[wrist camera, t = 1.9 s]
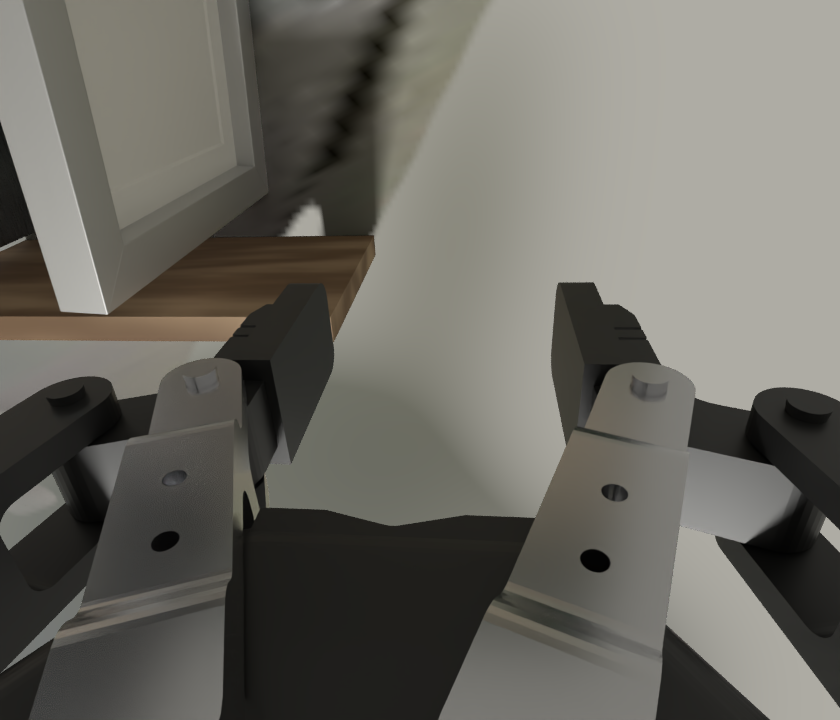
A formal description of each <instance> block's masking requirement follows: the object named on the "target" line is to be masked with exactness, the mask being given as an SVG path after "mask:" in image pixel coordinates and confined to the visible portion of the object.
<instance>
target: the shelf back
mask: <svg viewBox="0 0 840 720" xmlns="http://www.w3.org/2000/svg"><path fill="white" fill-rule="evenodd" d="M374 257H375V244H374V235H368V236H296V237H295V236H292V237H217V238H208V239H207V240H205V241H204V242H203V243H201V244H200V245H199V246H197V247H196V248H195V249H194V250H192V251H191V252H190V253H188V254H187V255H186V256H184V257H183V258H182V259H180V260H179V261H178V262H176V263H175V264H174V265H172V266H171V267H170V268H168V269H167V270H166V271H165V272H163V273H162V274H161V275H159V276H158V277H157V278H155V279H154V280H153V281H151V282H150V283H149V284H147V285H146V286H145V287H143V288H142V289H141V290H140V291H138V292H137V293H136V294H134V295H133V296H132V297H130V298H129V299H128V300H126V301H125V302H124V303H122V304H121V305H120V306H118V307H117V308H116V309H114V310H113V311H112V312H111V313H109V314H108V315H105V314H90V313H75V312H61V311H60V308H59V305H58V302H57V298H56V295H55V292H54V289H53V286H52V283H51V279H50V276H49V273H48V270H47V267H46V264H45V261H44V257H43V254H42V251H41V248H40V245H39V242H38V240H25V241H23V242H21V243H18V244H16V245H14V246H12V247H10V248H8V249H5V250H3V251H1V252H0V340H96V341H228V340H229V338H230V337H233V334H234V332H235V331H236V330H237V329H238V328H240V325H241V324H242V323H243V321H244V320H245V319H246V318H247V316H248V315H249V314H250V313H252V312H254V311H256V310H257V309H259V308H261V307H262V306H264V305H266V304H273V303H274V302H275V301H276V299H277V298H278V297H279V295H280V294H281V293H282V291H283V290H284V289H285V288H286V286H287V285H288V284H289V283H322V284H323V285H324V287H325V290H326V294H327V300H328V308H329V315H330V323H331V330H332V338H333V342H334V340H335V338H336V336H337V334H338V332H339V330H340V328H341V326H342V324H343V322H344V319H345V317H346V315H347V313H348V311H349V309H350V307H351V305H352V303H353V301H354V299H355V297H356V294H357V292H358V290H359V288H360V286H361V284H362V282H363V280H364V278H365V276H366V274H367V271H368V269H369V267H370V265H371V263H372V261H373V259H374Z"/></svg>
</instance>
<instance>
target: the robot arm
mask: <svg viewBox="0 0 840 720" xmlns="http://www.w3.org/2000/svg"><path fill="white" fill-rule="evenodd" d="M333 362H334V346H333V338H332V330H331V323H330V315H329V308H328V300H327V294H326V290H325V287H324V285H323V284H322V283H289V284H288V285H287V286H286V288H285V289H284V290H283V291H282V293H281V294H280V295H279V297H278V298H277V299H276V301H275V302H274V303H273V304H266V305H264V306H262V307H261V308H259V309H257V310H256V311H254V312H252V313H250V314H249V315H248V316H247V318H246V319H245V320H244V321H243V323H242V324H241V325H240V328H238V329H237V330H236V331H235V332H234V334H233V337H230V338H229V340H228V341H227V342H226V343H225V344H224V346H223V347H222V348H221V349H220V351H219V352H218V353H217V354H216V356H215V357H214V358H209V359H201V360H196V361H193V362H189V363H186V364H184V365H181V366H179V367H177V368H175V369H174V370H172V371H170V372H169V373H168V374H167V375H166V376H165V377H164V378H163V379H162V380H161V383H160V386H159V390H158V393H157V394H152V395H146V396H140V397H134V398H128V399H122V400H117V397H116V394H115V392H114V389H113V386H112V384H111V382H110V381H109V380H107V379H105V378H101V377H94V376H92V377H78V378H73V379H69V380H65V381H61V382H58V383H56V384H53V385H50V386H48V387H46V388H44V389H42V390H40V391H38V392H37V393H35V394H33V395H32V396H30V397H29V398H27V399H25V400H24V401H22V402H20V403H19V404H17V405H16V406H14V407H12V408H11V409H9V410H8V411H6V412H4V413H3V414H1V415H0V522H1V519H2V517H3V515H4V513H5V512H6V510H7V509H8V508H9V507H10V505H11V504H13V503H14V502H15V501H16V500H18V499H19V498H20V497H21V496H23V495H24V494H25V493H27V492H28V491H29V490H31V489H32V488H33V487H34V486H36V485H37V484H38V483H40V482H41V481H42V480H44V479H45V478H46V477H47V476H49V475H50V474H51V473H52V475H53V477H54V479H55V481H56V483H57V485H58V487H59V489H60V492H61V494H62V496H63V498H64V500H65V502H66V503H65V504H64V505H63V506H61V507H60V508H59V509H58V510H57V511H55V512H54V513H53V514H52V515H51V516H49V517H48V518H47V519H46V520H45V521H43V522H42V523H41V524H40V525H39V526H37V527H36V528H35V529H34V530H33V531H31V532H30V533H29V534H28V535H27V536H26V537H24V538H23V539H22V540H21V541H20V542H18V544H16V545H15V546H14V547H12V548H11V549H10V550H9V551H8V549H7V548H6V545H5V544H4V542H3V540H2V539H1V536H0V720H770V719H768V718H767V717H766V716H765V715H764V714H763V713H762V712H761V711H760V710H759V709H758V708H756V707H755V706H754V705H753V704H752V703H751V702H750V701H749V700H748V699H747V698H746V697H744V696H743V695H742V694H741V693H740V692H739V691H738V690H737V689H736V688H735V687H733V686H732V685H731V684H730V683H729V682H728V681H727V680H726V679H725V678H724V677H723V676H721V675H720V674H719V673H718V672H717V671H716V670H715V669H714V668H713V667H712V666H711V665H709V664H708V663H707V662H706V661H705V660H704V659H703V658H702V657H701V656H700V655H699V654H697V653H696V652H695V651H694V650H693V649H692V648H691V647H690V646H689V645H687V644H686V643H685V642H684V641H683V640H682V639H681V638H680V637H679V636H678V635H677V634H675V633H674V632H673V631H672V630H671V629H670V628H669V627H668V626H667V625H666V618H667V611H668V604H669V596H670V590H671V583H672V576H673V569H674V561H675V554H676V547H677V540H678V533H679V526H683V527H686V528H690V529H694V530H697V531H701V532H705V533H708V534H712V535H715V537H716V541H717V543H718V545H719V547H720V549H721V550H722V551H723V553H724V554H725V555H726V557H727V558H728V559H729V561H730V562H731V563H732V565H733V566H734V567H735V569H736V570H737V571H738V573H739V574H740V575H741V577H742V578H743V579H744V581H745V582H746V583H747V585H748V586H749V587H750V589H751V590H752V591H753V593H754V594H755V595H756V597H757V598H758V599H759V601H760V602H761V603H762V605H763V606H764V607H765V608H766V610H767V611H768V613H769V614H770V615H771V617H772V618H773V619H774V621H775V622H776V623H777V625H778V626H779V627H780V628H781V630H782V631H783V633H784V634H785V635H786V637H787V638H788V639H789V640H790V642H791V643H792V645H793V646H794V647H795V649H796V650H797V651H798V653H799V654H800V655H801V656H802V658H803V659H804V661H805V662H806V663H807V665H808V666H809V667H810V669H811V670H812V671H813V673H814V674H815V675H816V677H817V678H818V679H819V681H820V682H821V683H822V685H823V686H824V687H825V688H826V690H827V691H828V692H829V694H830V695H831V697H832V698H833V699H834V701H835V702H836V703H837V705H838V706H839V707H840V552H838V550H837V549H836V548H835V547H834V546H833V545H832V544H831V543H830V542H829V541H828V540H827V539H826V538H825V537H824V536H823V535H822V534H821V533H820V530H821V527H822V525H823V523H824V520H825V518H826V517H827V518H828V519H829V520H831V522H832V523H834V524H835V526H836V527H838V528H839V530H840V402H839V401H838V400H836V399H833V398H831V397H828V396H826V395H823V394H820V393H816V392H813V391H809V390H804V389H798V388H785V387H784V388H772V389H767V390H764V391H762V392H760V393H758V394H757V395H756V396H755V399H754V401H753V405H752V408H751V411H747V410H742V409H737V408H732V407H727V406H721V405H717V404H712V403H708V402H705V401H702V400H699V399H696V398H695V387H694V384H693V383H692V381H691V380H689V378H687V377H686V376H685V375H683V374H682V373H680V372H678V371H676V370H674V369H671V368H669V367H665V366H662V365H661V364H660V362H659V360H658V359H657V357H656V354H655V353H654V351H653V349H652V347H651V345H650V343H649V341H648V340H646V336H645V334H644V332H643V330H641V326H640V324H639V323H638V321H637V319H636V317H635V315H633V314H632V313H630V312H629V311H628V310H626V309H625V308H623V307H622V306H620V305H604V304H603V302H602V300H601V297H600V295H599V293H598V291H597V288H596V286H595V284H594V283H593V282H592V283H590V282H589V283H587V282H586V283H558V285H557V290H556V301H555V312H554V325H553V338H552V350H551V368H552V377H553V382H554V387H555V392H556V397H557V402H558V407H559V412H560V417H561V422H562V427H563V432H564V437H565V441H566V448H565V450H564V453H563V455H562V457H561V460H560V462H559V464H558V466H557V469H556V471H555V474H554V476H553V478H552V480H551V483H550V485H549V487H548V490H547V492H546V494H545V497H544V499H543V501H542V504H541V506H540V508H539V511H538V513H537V515H536V517H535V518H521V517H497V516H495V517H494V516H470V515H464V516H458V517H451V518H445V519H438V520H432V521H426V522H419V523H413V524H406V525H400V526H388V525H383V524H379V523H375V522H371V521H367V520H363V519H359V518H355V517H351V516H347V515H343V514H340V513H336V512H332V511H328V510H314V509H313V510H312V509H288V508H287V509H286V508H270V504H269V490H268V483H267V479H266V474H265V472H266V470H267V468H268V465H269V464H291V463H292V461H293V458H294V456H295V454H296V452H297V450H298V447H299V445H300V443H301V440H302V438H303V436H304V434H305V431H306V429H307V427H308V425H309V422H310V420H311V418H312V416H313V413H314V411H315V409H316V406H317V404H318V402H319V400H320V397H321V395H322V393H323V391H324V388H325V386H326V384H327V382H328V379H329V377H330V375H331V372H332V369H333ZM85 586H86V589H85V592H84V596H83V600H82V603H81V606H80V609H79V611H78V613H77V614H76V616H75V617H74V618H73V619H71V620H69V621H67V622H65V623H64V624H63V625H62V626H61V628H60V629H59V631H58V632H57V634H56V636H55V638H53V639H52V640H50V641H49V642H47V643H46V644H44V645H43V646H41V647H40V648H38V649H37V650H35V651H34V652H32V653H31V654H29V655H28V656H26V657H25V658H23V659H22V660H20V661H19V662H17V663H16V664H14V665H13V666H11V667H10V668H8V669H6V670H5V671H4V672H2V671H3V670H4V669H5V668H6V667H7V666H8V665H9V664H10V663H11V662H12V661H13V660H14V659H15V658H16V656H18V655H19V654H20V653H21V652H22V651H23V649H25V648H26V646H28V644H29V643H30V642H31V641H32V640H33V639H34V638H35V637H36V636H37V635H38V634H39V633H40V632H41V631H42V630H43V629H44V628H45V627H46V626H47V625H48V624H49V623H50V622H51V621H52V620H53V619H54V618H55V617H56V616H57V615H58V614H59V613H60V612H61V611H62V610H63V609H64V608H65V607H66V606H67V605H68V604H69V603H70V602H71V601H72V600H73V599H74V598H75V596H76V595H77V594H78V593H79V592H80V591H81V590H82V589H83V588H84V587H85ZM1 672H2V673H1Z"/></svg>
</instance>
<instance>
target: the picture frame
mask: <svg viewBox="0 0 840 720" xmlns="http://www.w3.org/2000/svg"><path fill="white" fill-rule="evenodd" d="M0 122H1V125H2V128H3V131H4V134H5V137H6V141H7V144H8V147H9V150H10V153H11V156H12V160H13V163H14V166H15V169H16V172H17V175H18V179H19V182H20V185H21V188H22V191H23V194H24V197H25V201H26V204H27V207H28V210H29V213H30V216H31V220H32V223H33V226H34V229H35V232H36V235H37V238H38V242H39V245H40V248H41V251H42V254H43V257H44V261H45V264H46V267H47V270H48V273H49V276H50V279H51V283H52V286H53V289H54V292H55V295H56V298H57V302H58V305H59V308H60V311H61V312H75V313H90V314H105V315H108V314H109V313H111V312H112V311H113V310H114V309H116V308H117V307H118V306H120V305H121V304H122V303H124V302H125V301H126V300H128V299H129V298H130V297H132V296H133V295H134V294H136V293H137V292H138V291H140V290H141V289H142V288H143V287H145V286H146V285H147V284H149V283H150V282H151V281H153V280H154V279H155V278H157V277H158V276H159V275H161V274H162V273H163V272H165V271H166V270H167V269H168V268H170V267H171V266H172V265H174V264H175V263H176V262H178V261H179V260H180V259H182V258H183V257H184V256H186V255H187V254H188V253H190V252H191V251H192V250H194V249H195V248H196V247H197V246H199V245H200V244H201V243H203V242H204V241H205V240H207V239H208V238H209V237H211V236H212V235H213V234H215V233H216V232H217V231H219V230H220V229H221V228H222V227H224V226H225V225H226V224H228V223H229V222H230V221H232V220H233V219H234V218H236V217H237V216H238V215H240V214H241V213H242V212H244V211H245V210H246V209H248V208H249V207H250V206H251V205H253V204H254V203H255V202H257V201H258V200H259V199H261V198H262V197H263V196H265V195H266V194H267V193H269V189H268V180H267V170H266V160H265V151H264V141H263V131H262V122H261V112H260V102H259V93H258V83H257V74H256V64H255V54H254V45H253V35H252V25H251V16H250V6H249V0H0Z"/></svg>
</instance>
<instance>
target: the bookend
mask: <svg viewBox="0 0 840 720" xmlns="http://www.w3.org/2000/svg"><path fill="white" fill-rule="evenodd" d="M33 232H35V229H34V226H33V223H32V220H31V216H30V213H29V210H28V207H27V204H26V201H25V197H24V194H23V191H22V188H21V185H20V182H19V179H18V175H17V172H16V169H15V166H14V163H13V160H12V156H11V153H10V150H9V147H8V144H7V141H6V137H5V134H4V131H3V128H2V125H1V122H0V247H2V246H5V245H7V244H9V243H11V242H13V241H16V240H18V239H20V238H22V237H25V236H27V235H29V234H31V233H33Z"/></svg>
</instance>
